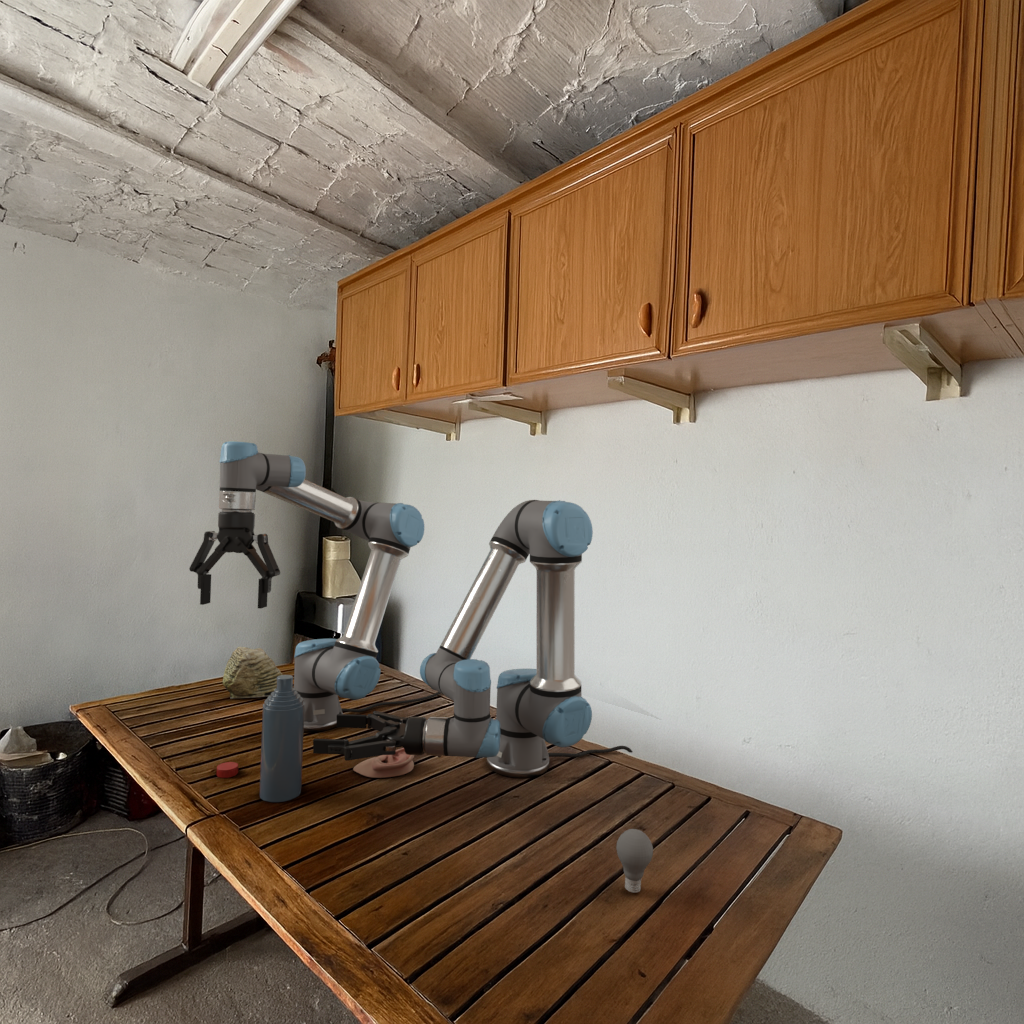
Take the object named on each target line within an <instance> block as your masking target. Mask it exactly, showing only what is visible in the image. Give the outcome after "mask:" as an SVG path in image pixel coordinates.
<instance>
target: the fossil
mask: <svg viewBox="0 0 1024 1024" xmlns="http://www.w3.org/2000/svg"><path fill="white" fill-rule="evenodd" d="M280 675H283V673H282V672H281V669H279V668H278V667H277V665H276V663H275V662H274V660H273V659H272V658H271V657H270V656H269V655H268V654H267V653H266V652H265V650H264V649H263V648H260V647H258V648H251V647H247V646H246V647H245V646H238V647H237V648H236V649H235V650H233V651H232V653H231V656H230V657H229V659H228V660H227V663H226V666H225V668H224V671H223V675H222V676H223V677H222V685H223V687H224V688H225V690H226V691H228V693H229V698H230V699H250V698H264V697H268V696H270V695H271V693H272V692H274V689H276V687H277V679H276V678H277V677H278V676H280Z"/></svg>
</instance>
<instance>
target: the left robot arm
mask: <svg viewBox="0 0 1024 1024" xmlns="http://www.w3.org/2000/svg"><path fill="white" fill-rule="evenodd" d="M219 456H220V457H219V493H218V497H219V498H218V508H219V509H220V510H221V511H219V512H218V517H217V518H218V519H217V526H218V531H217V532H216V531H215V530H209V531H208V530H207V531H205V532H204V534H203V539H202V540H203V541H202V543H201V545H200V546H199V549H198V551H197V552H196V555H195V557H194V558H193V560H192V562H191V564H190V566H189V568H188V569H189V571H190V572H192V573H195V574H196V575H197V590H200V595H199V596H200V598H199V602H200V603H199V605H200V606H201V605H202V606H203V605H207V604H210V603H211V594H212V573H210V571H211V570H212V569H213V567H214V566H215V565H216V564H217V563H218V562H219V560H220V559H221V558H222V557H223V556H224V555H226V553H228V554H229V553H236V554H243V555H244V556H246V557H247V559H248V560H249V561H250V563H251V564H252V566H253V567H254V568H255V569H256V571H257V572H258V573H259V575H260V576H261V578H258V588H257V589H258V590H257V592H258V593H257V609H263V608H267V607H268V594H270V593H271V591H272V579H273V578H274V577H277V576H280V575H281V570H280V567H279V565H278V563H277V561H276V558H275V556H274V553H273V551H272V549H271V546H270V544H269V537H268V534H267V533H259V534H255V531H254V530H255V527H256V526H255V524H256V513H254V512H253V511H255V510H256V494H257V493H256V492H257V491H259V492H262V493H264V494H266V495H269V496H271V497H273V498H276V499H278V500H281V501H283V502H285V503H288V504H291V505H293V506H296V507H298V508H300V509H302V510H305V511H307V512H309V513H311V514H313V515H317V516H318V517H321V518H323V519H326V520H329V521H331V522H333V523H334V525H335V527H337V528H338V529H341V530H343V531H345V532H347V533H350V534H352V535H354V536H356V537H358V538H359V539H362V540H364V541H367V545H368V548H369V549H370V553H369V557H368V560H367V563H366V566H365V569H364V572H363V575H362V578H361V581H360V584H359V587H358V590H357V593H356V597H355V599H354V601H353V605H352V608H351V611H350V615H349V617H348V621H347V624H346V627H345V630H344V633H343V635H342V636H340V637H339V638H317V639H308V640H304V641H300V642H299V643H297V645H296V646H295V650H294V655H293V657H294V672H293V673H294V674H293V688H294V689H295V690H296V691H297V692H298V694H300V697H302V698H303V701H304V702H305V708H304V733H316V732H325V731H329V730H332V729H335V728H338V727H337V714H344V713H343V712H345V713H346V712H349V713H361V712H366V711H369V710H371V709H373V708H374V709H375V708H377V707H381V706H390V705H402V704H403V705H404V704H409V703H416V702H422V701H426V700H430V699H432V698H434V697H436V696H438V695H443V694H442V693H440V692H438V691H436V692H435V693H432V694H430V695H427V696H423V697H418V698H417V697H416V698H412V699H403V700H394V701H383V702H378V703H374V704H371V705H367V706H366V707H363V708H362V707H361V708H344V707H343V708H342V706H341V702H340V699H339V698H342V699H347V700H353V701H355V700H356V701H357V700H360V699H364V698H366V696H367V695H370V694H371V693H372V692H373V691H374V689H375V688H376V687H377V685H378V684H379V681H380V677H381V670H382V669H381V667H380V663H379V661H378V660H377V656H378V653H379V650H378V648H377V646H376V641H377V638H378V635H379V631H380V628H381V625H382V622H383V620H384V619H383V618H384V616H385V612H386V609H387V606H388V603H389V599H390V596H391V593H392V590H393V587H394V583H395V581H396V577H397V575H398V571H399V568H400V565H401V561H402V560H403V559H405V558H407V557H408V556H409V554H410V551H411V548H413V547H416V546H417V545H418V544H419V543H421V541H422V539H423V538H424V535H425V521H424V519H423V515H422V513H421V512H420V510H418V508H417V507H415V506H414V505H411V504H407V503H403V502H397V503H394V502H378V501H376V502H375V501H366V500H361V499H358V498H356V497H354V496H347V497H345V496H342V495H341V494H338V493H336V492H334V491H332V490H330V489H327V488H325V487H323V486H321V485H320V484H316V483H314V482H313V481H311V480H308V479H306V475H307V474H306V471H307V468H306V464H305V461H304V460H303V459H302V458H301V457H299V456H294V455H291V454H288V455H287V454H286V455H285V454H275V453H274V454H273V453H263V452H259V449H258V445H257V444H256V443H255V442H249V441H248V442H247V441H232V440H231V441H229V440H228V441H225V442H223V443H222V445H221V449H220V455H219ZM216 541H218V543H219V544H218V545H217V546H216V547H215V548H214V551H213V552H212V553H211V554H210V552H211V550H212V549H213V548H212V547H213V546H214V544H215V542H216ZM254 543H255V544H257V546H258V550H259V551H260V554H261V556H260V555H259V553H258V551H257V549H256V548H255V546H254V545H253V544H254ZM209 554H210V556H209ZM261 557H262V558H261Z"/></svg>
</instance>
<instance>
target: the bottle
mask: <svg viewBox="0 0 1024 1024" xmlns="http://www.w3.org/2000/svg"><path fill="white" fill-rule="evenodd" d="M276 679H277V687H276V689H274V692H272V693H271V695H270V696H267V698H265V700H264V703H263V704H262V713H261V714H262V716H261V717H262V718H261V739H260V740H261V742H260V744H261V746H260V767H259V768H260V769H259V770H260V772H259V798H260V799H261V800H262V801H264V802H267V803H282V802H287V801H291V800H293V799H296V798H297V797H299V796H300V795H301V793H302V785H303V757H304V755H303V754H304V733H305V732H304V708H305V702H304V701H303V698H302V697H300V694H298V692H297V691H296V690H295V689H294V675H292V674H282V675H280V676H278V677H277V678H276Z"/></svg>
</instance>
